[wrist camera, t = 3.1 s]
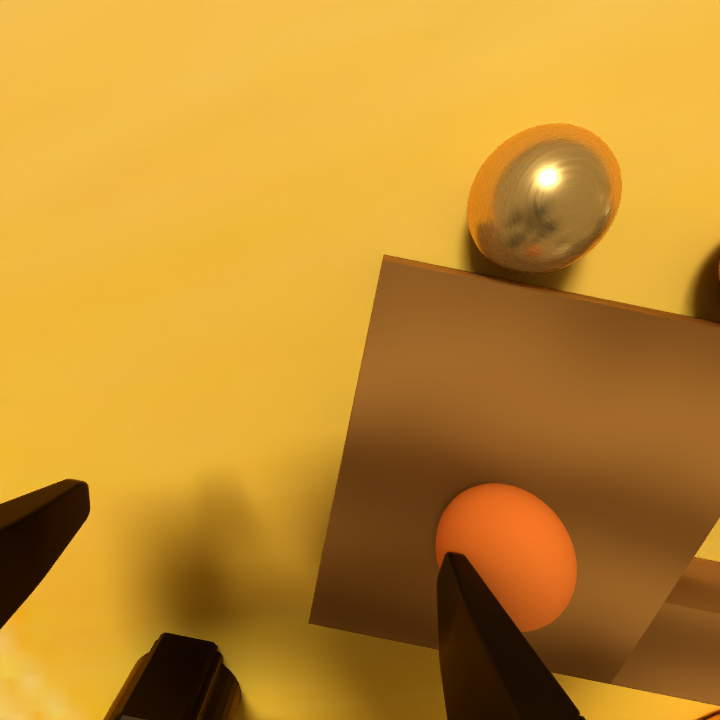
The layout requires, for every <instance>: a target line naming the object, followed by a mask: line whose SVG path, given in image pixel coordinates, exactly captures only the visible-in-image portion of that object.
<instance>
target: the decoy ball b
mask: <svg viewBox="0 0 720 720" xmlns="http://www.w3.org/2000/svg"><path fill="white" fill-rule="evenodd" d="M718 276H719V282H720V261H719V267H718Z"/></svg>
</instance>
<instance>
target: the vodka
mask: <svg viewBox="0 0 720 720" xmlns="http://www.w3.org/2000/svg"><path fill="white" fill-rule="evenodd" d="M706 720H720V713H719V714H716V715H714V716H712V717H709V718H708V719H706Z"/></svg>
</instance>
